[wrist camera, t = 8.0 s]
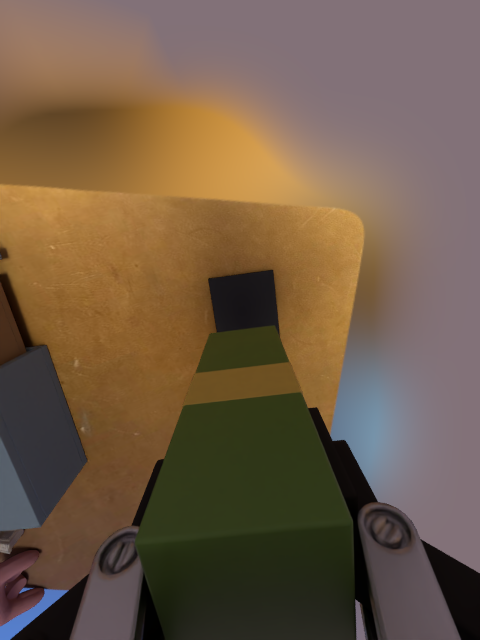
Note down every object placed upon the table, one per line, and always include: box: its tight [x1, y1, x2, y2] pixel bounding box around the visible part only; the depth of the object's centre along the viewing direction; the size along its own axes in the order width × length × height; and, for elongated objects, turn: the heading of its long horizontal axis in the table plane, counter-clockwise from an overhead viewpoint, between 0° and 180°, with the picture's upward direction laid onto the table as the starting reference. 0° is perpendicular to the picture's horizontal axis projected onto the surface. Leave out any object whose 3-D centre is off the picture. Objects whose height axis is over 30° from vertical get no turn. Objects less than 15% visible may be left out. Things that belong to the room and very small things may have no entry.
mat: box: [208, 270, 280, 337], centre depth 30 cm, size 9×7×1 cm
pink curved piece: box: [0, 550, 44, 626], centre depth 40 cm, size 10×5×7 cm, turn 174°
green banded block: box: [135, 325, 356, 640], centre depth 11 cm, size 6×4×12 cm, turn 8°
